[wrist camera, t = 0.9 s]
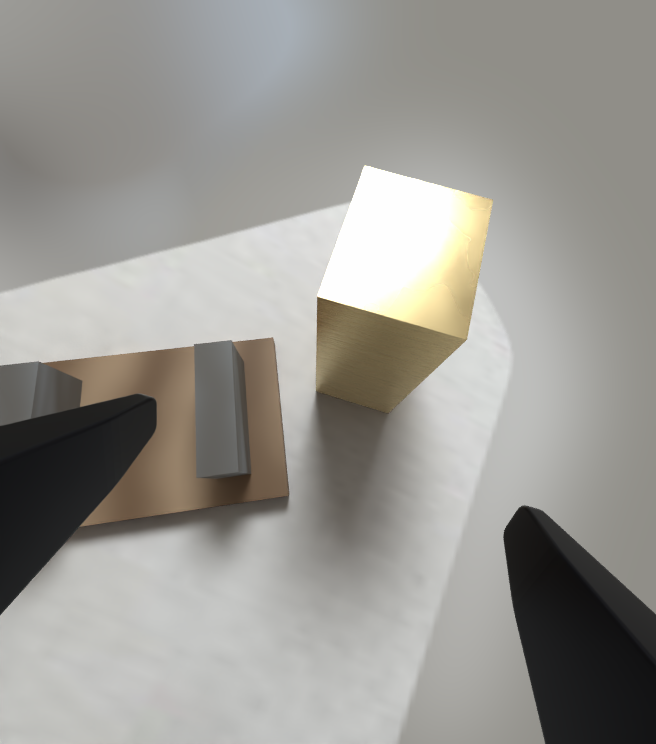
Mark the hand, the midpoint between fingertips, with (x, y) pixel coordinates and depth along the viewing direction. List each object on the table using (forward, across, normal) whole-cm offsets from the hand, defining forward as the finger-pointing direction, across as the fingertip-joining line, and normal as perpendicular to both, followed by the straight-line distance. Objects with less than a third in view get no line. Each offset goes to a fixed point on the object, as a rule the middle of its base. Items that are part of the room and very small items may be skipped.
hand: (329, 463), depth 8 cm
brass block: (+15, -1, +4) cm, 16 cm away
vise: (+9, +11, +9) cm, 17 cm away
